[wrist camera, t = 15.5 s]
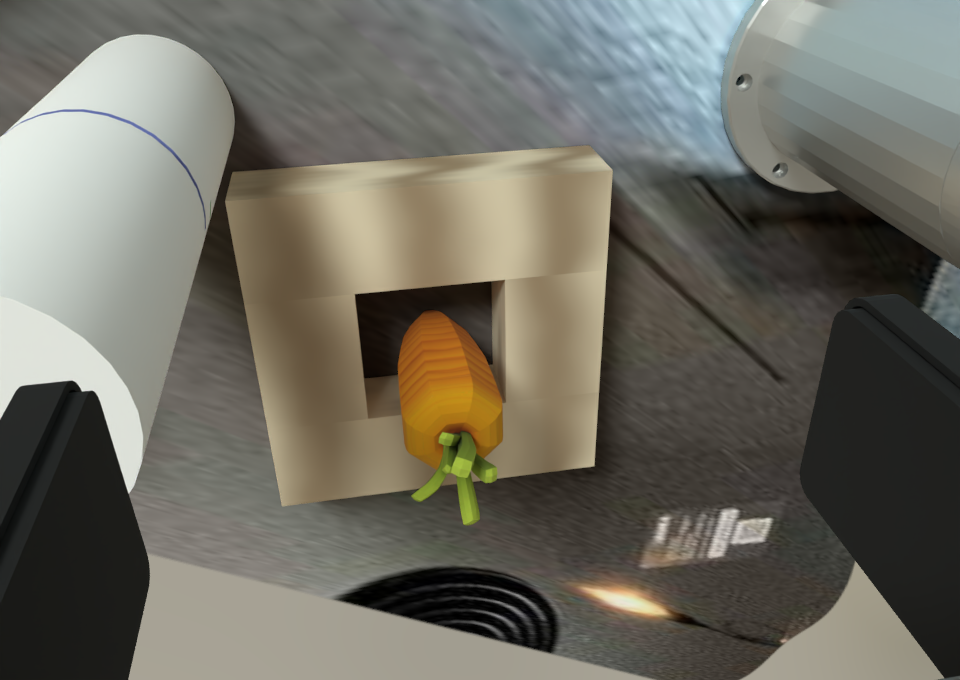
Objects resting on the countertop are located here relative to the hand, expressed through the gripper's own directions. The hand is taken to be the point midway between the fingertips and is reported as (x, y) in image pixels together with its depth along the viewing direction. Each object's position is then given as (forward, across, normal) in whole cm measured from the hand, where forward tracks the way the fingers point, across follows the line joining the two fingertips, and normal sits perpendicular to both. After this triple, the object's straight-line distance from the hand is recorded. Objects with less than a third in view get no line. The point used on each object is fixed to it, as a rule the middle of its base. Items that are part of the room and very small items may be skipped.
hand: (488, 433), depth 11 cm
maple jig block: (+32, -2, +16) cm, 36 cm away
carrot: (+32, -2, +16) cm, 36 cm away
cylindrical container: (+32, +10, +4) cm, 34 cm away
